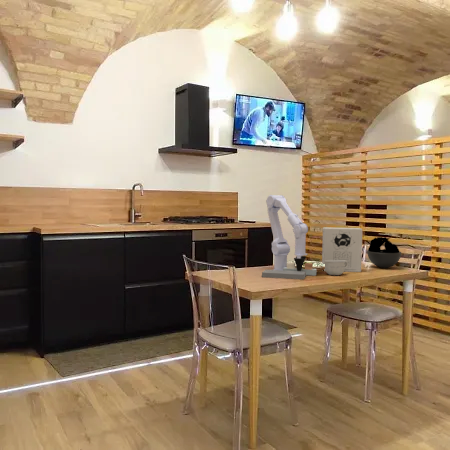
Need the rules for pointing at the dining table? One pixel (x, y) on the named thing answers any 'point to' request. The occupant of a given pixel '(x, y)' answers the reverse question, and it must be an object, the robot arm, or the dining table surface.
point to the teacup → (335, 266)
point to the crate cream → (291, 265)
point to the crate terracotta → (309, 266)
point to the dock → (284, 274)
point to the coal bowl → (383, 252)
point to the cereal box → (343, 247)
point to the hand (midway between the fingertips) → (299, 270)
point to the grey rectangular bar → (308, 272)
